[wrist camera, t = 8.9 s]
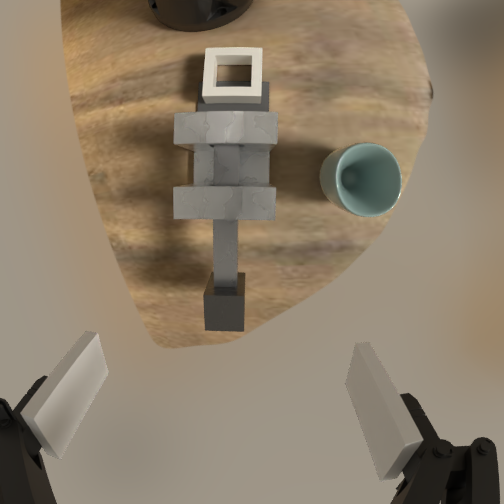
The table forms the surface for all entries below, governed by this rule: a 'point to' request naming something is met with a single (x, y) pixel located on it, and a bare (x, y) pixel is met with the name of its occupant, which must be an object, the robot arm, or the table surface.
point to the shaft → (225, 254)
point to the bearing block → (250, 165)
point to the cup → (361, 179)
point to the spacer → (232, 58)
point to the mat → (235, 106)
